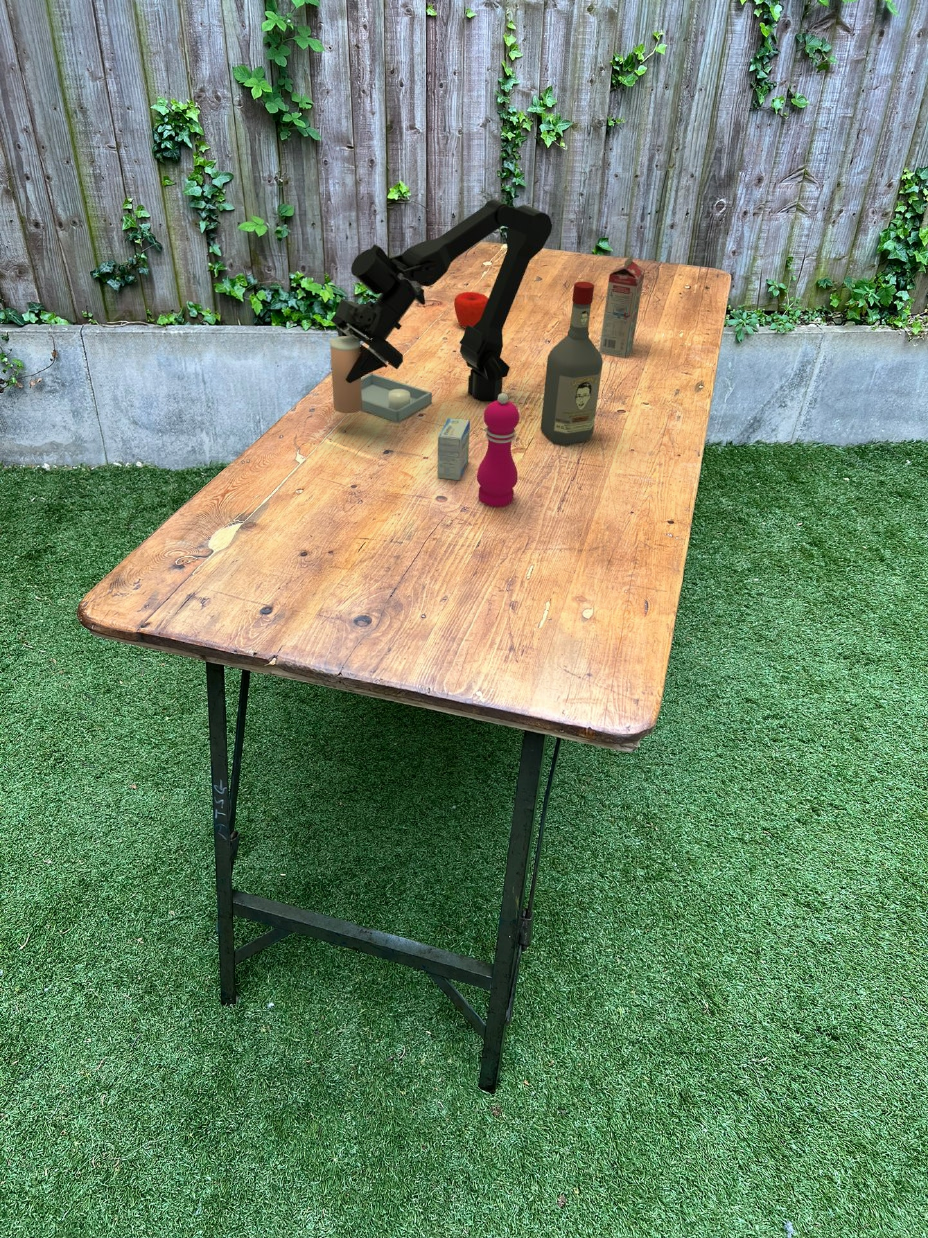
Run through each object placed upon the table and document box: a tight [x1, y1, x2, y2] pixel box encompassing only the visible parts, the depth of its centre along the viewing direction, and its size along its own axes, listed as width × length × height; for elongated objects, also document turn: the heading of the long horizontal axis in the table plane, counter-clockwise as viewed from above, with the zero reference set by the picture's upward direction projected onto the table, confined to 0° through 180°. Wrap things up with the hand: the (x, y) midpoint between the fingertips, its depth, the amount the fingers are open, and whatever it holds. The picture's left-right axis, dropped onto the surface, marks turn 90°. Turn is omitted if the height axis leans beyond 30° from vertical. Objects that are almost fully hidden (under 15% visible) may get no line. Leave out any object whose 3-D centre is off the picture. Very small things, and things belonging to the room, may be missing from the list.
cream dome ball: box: [389, 389, 410, 410], centre depth 189 cm, size 4×4×3 cm
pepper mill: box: [476, 392, 520, 508], centre depth 158 cm, size 7×7×20 cm
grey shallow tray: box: [360, 372, 433, 424], centre depth 191 cm, size 16×12×3 cm
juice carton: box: [598, 253, 645, 359], centre depth 215 cm, size 7×7×22 cm
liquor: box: [540, 281, 604, 447], centre depth 176 cm, size 9×9×30 cm
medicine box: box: [436, 417, 471, 481], centre depth 169 cm, size 8×4×9 cm, turn 168°
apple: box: [453, 291, 489, 329], centre depth 228 cm, size 9×9×8 cm
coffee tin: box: [329, 336, 362, 414], centre depth 175 cm, size 6×6×13 cm
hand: (340, 376), depth 174 cm, fingers closed on coffee tin, 5 cm apart
